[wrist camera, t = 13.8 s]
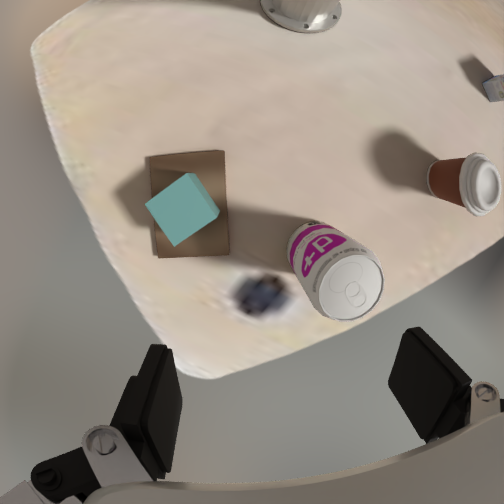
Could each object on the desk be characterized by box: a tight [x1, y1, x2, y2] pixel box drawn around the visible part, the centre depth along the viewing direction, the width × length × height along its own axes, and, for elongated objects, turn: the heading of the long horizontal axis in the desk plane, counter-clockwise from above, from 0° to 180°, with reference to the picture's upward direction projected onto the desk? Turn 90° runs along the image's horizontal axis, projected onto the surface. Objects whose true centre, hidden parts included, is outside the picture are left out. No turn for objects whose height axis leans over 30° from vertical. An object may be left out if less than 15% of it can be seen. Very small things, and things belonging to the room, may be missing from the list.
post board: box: [150, 151, 229, 258], centre depth 34 cm, size 14×10×6 cm
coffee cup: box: [426, 153, 501, 216], centre depth 32 cm, size 9×9×12 cm
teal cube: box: [145, 173, 220, 247], centre depth 33 cm, size 6×6×6 cm
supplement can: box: [286, 221, 385, 322], centre depth 33 cm, size 8×8×15 cm
